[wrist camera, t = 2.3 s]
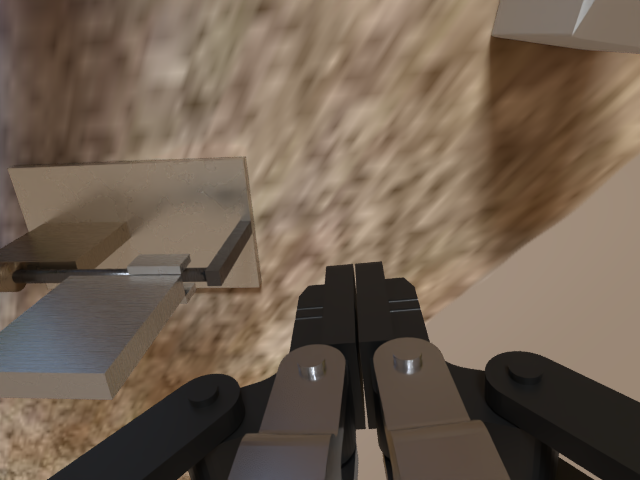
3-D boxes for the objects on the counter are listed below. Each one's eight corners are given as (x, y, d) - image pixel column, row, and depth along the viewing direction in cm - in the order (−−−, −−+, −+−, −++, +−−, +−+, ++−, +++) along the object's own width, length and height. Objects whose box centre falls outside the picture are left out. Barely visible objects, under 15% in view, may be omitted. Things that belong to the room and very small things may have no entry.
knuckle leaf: (92, 290, 35) (-33, 406, 24) (82, 255, 34) (-54, 360, 23) (196, 289, 34) (115, 410, 23) (189, 253, 33) (100, 362, 22)
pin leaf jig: (54, 284, 46) (-32, 352, 36) (15, 165, 42) (-96, 206, 32) (261, 282, 44) (230, 354, 34) (245, 156, 39) (203, 197, 29)
